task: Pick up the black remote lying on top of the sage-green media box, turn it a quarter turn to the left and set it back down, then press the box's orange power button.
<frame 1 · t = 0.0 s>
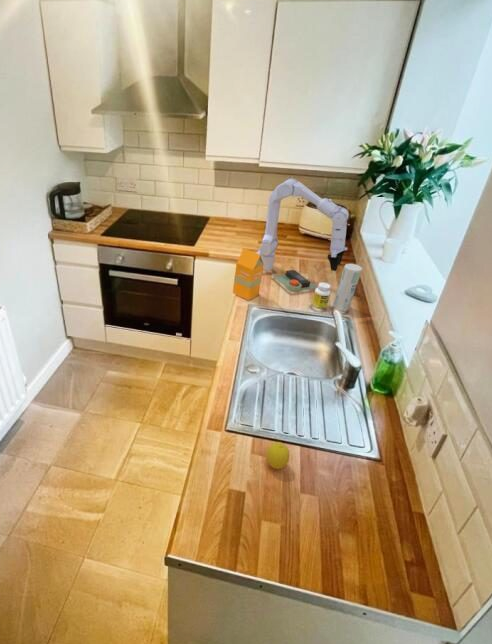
hand: (335, 267, 178), 11 cm above the counter, tool pointing down, fingers open, 7 cm apart
lemon: (274, 466, 102), on the counter
orange juice: (245, 294, 176), on the counter
spray can: (339, 310, 168), on the counter
pill bottle: (318, 308, 168), on the counter
remote: (305, 287, 180), point 1 cm above the counter, touching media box
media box: (294, 284, 185), on the counter
power button: (294, 283, 178), point 4 cm above the counter, slide at 0.1 cm
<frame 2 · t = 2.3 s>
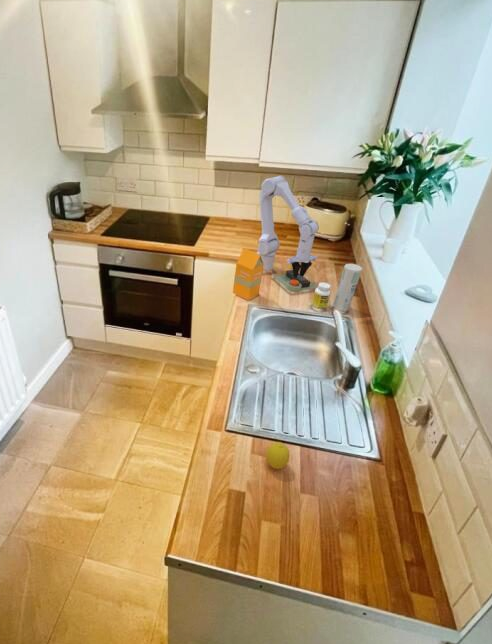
hand: (298, 276, 184), 4 cm above the counter, tool pointing down, fingers closed on remote, 3 cm apart
remote: (305, 287, 180), point 2 cm above the counter, touching gripper, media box
everything else where it was.
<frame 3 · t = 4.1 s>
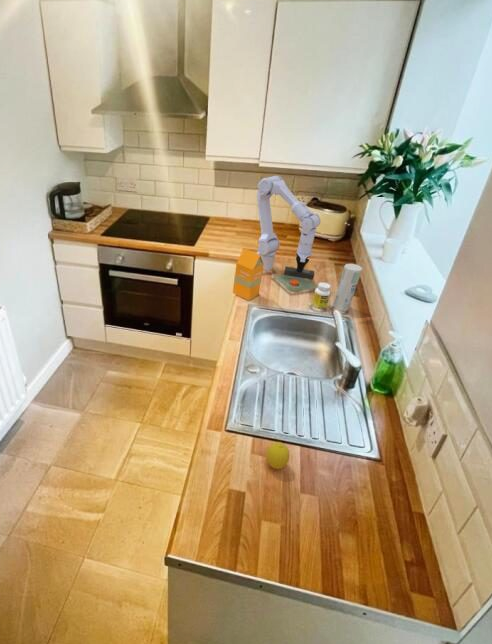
hand: (299, 270, 182), 7 cm above the counter, tool pointing down, fingers closed on remote, 3 cm apart
remote: (313, 277, 182), point 4 cm above the counter, touching gripper
everything else where it was.
when the fingers open (4 cm above the counter, at t = 6.0 s): remote stays where it is, resting on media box.
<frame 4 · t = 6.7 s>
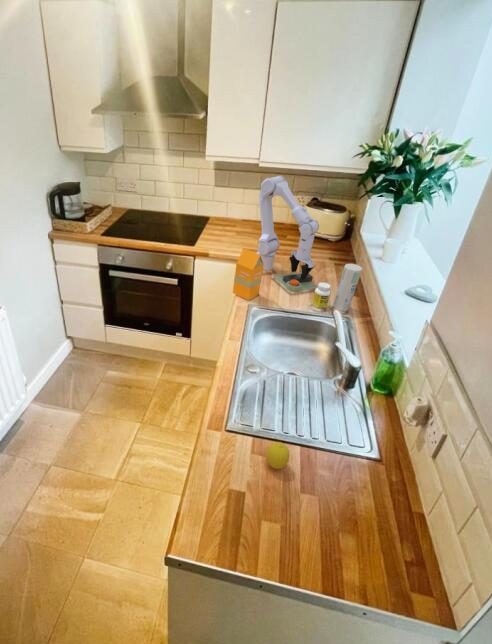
hand: (298, 275, 184), 4 cm above the counter, tool pointing down, fingers open, 7 cm apart
remote: (309, 279, 187), point 1 cm above the counter, touching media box
everything else where it was.
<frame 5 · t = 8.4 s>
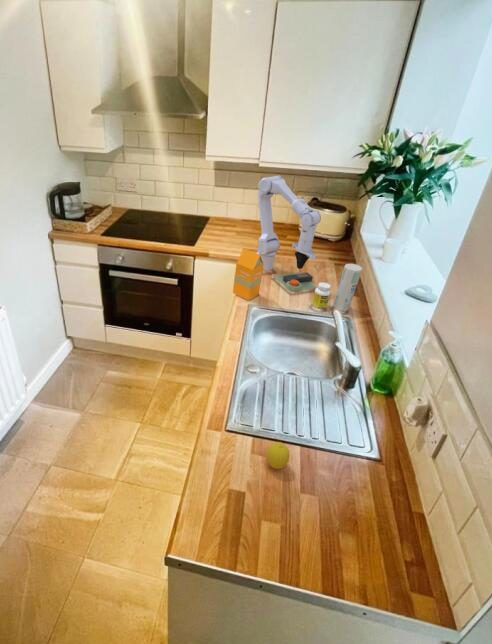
hand: (299, 268, 179), 9 cm above the counter, tool pointing down, fingers closed
nothing on the counter moved.
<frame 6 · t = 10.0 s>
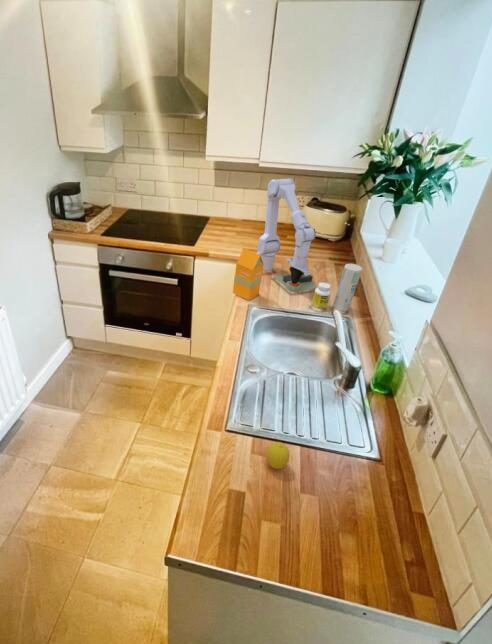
hand: (294, 283, 178), 4 cm above the counter, tool pointing down, fingers closed, pressing on power button
power button: (293, 284, 178), point 3 cm above the counter, slide at -0.7 cm, touching gripper
everything else where it was.
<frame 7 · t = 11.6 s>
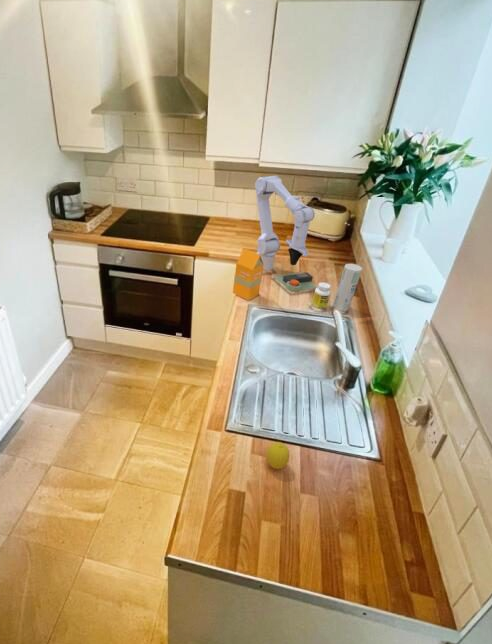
hand: (293, 264, 179), 10 cm above the counter, tool pointing down, fingers closed
power button: (294, 283, 178), point 4 cm above the counter, slide at 0.1 cm
everything else where it was.
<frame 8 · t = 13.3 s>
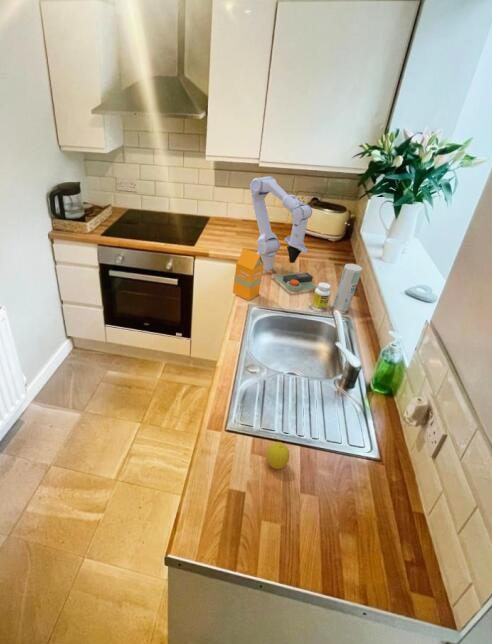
hand: (292, 262, 181), 10 cm above the counter, tool pointing down, fingers closed
nothing on the counter moved.
at the end: remote 0.1 cm from the target spot, point 1.5 cm above the counter; remote tilted 0°; power button pushed in 0.9 cm at the most during the clip, back to where it started at the end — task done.
